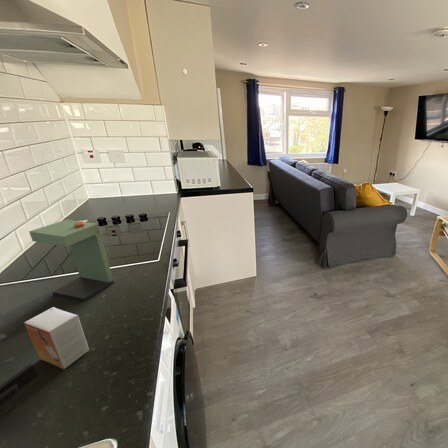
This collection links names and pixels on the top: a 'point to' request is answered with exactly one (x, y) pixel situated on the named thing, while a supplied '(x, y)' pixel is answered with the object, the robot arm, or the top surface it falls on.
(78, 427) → the top surface
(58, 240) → the coffee maker
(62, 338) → the small box
